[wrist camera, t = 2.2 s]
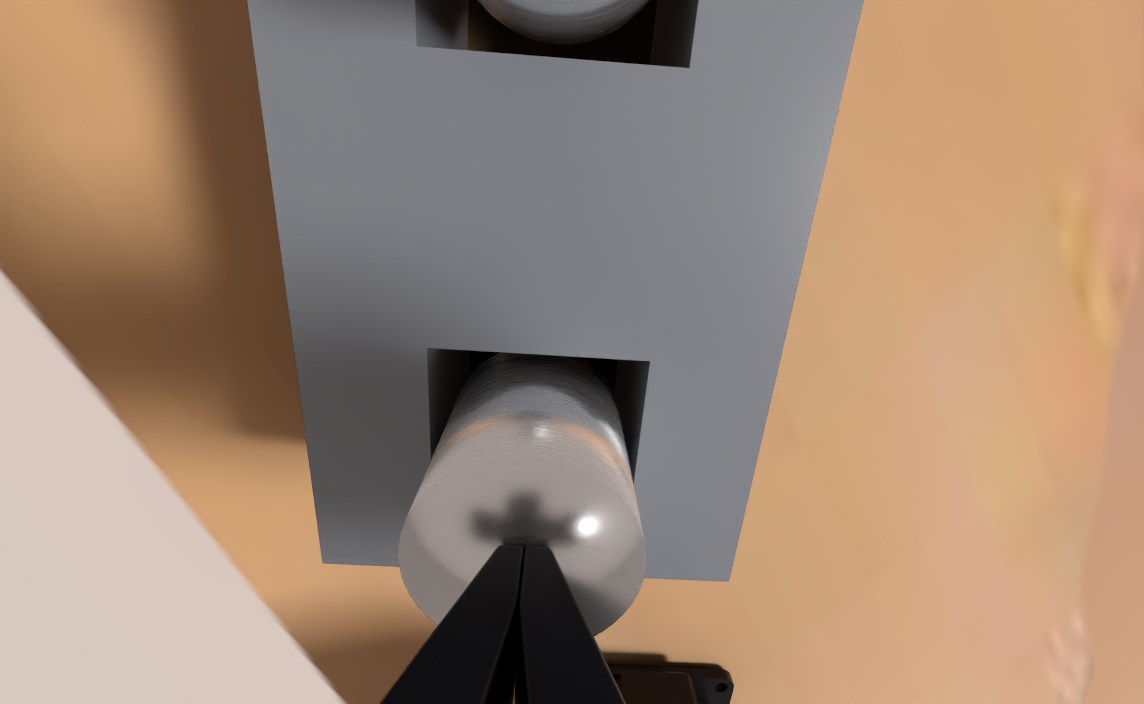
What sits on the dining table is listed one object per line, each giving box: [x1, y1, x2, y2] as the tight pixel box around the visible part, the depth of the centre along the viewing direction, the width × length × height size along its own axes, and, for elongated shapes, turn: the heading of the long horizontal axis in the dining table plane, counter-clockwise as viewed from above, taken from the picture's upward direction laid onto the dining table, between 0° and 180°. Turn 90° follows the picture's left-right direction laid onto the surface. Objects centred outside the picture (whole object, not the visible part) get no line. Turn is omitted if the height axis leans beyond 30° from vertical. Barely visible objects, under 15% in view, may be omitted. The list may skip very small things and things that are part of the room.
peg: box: [398, 352, 647, 636], centre depth 11 cm, size 4×4×5 cm
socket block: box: [247, 0, 864, 582], centre depth 12 cm, size 17×10×5 cm, turn 176°
